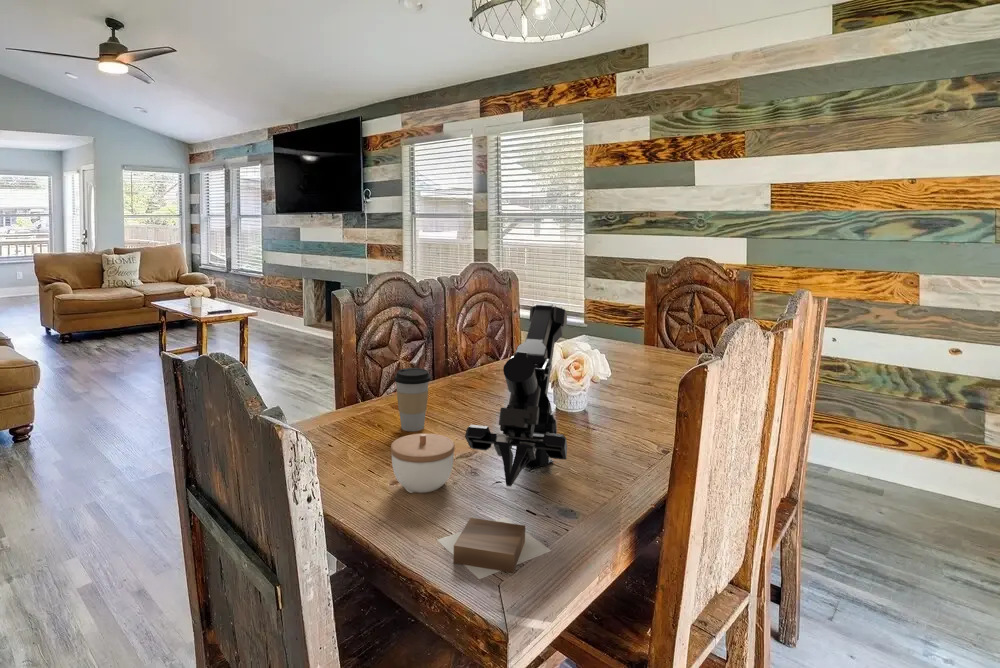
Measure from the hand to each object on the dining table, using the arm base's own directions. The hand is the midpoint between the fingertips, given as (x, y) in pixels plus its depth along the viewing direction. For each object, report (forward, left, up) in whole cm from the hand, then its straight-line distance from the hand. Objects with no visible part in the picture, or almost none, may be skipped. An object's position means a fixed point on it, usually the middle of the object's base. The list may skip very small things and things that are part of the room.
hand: (508, 485), depth 105 cm
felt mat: (+7, -8, -6) cm, 12 cm away
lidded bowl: (-20, -7, -7) cm, 22 cm away
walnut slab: (+5, -6, -4) cm, 9 cm away
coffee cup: (-52, +7, -7) cm, 53 cm away
